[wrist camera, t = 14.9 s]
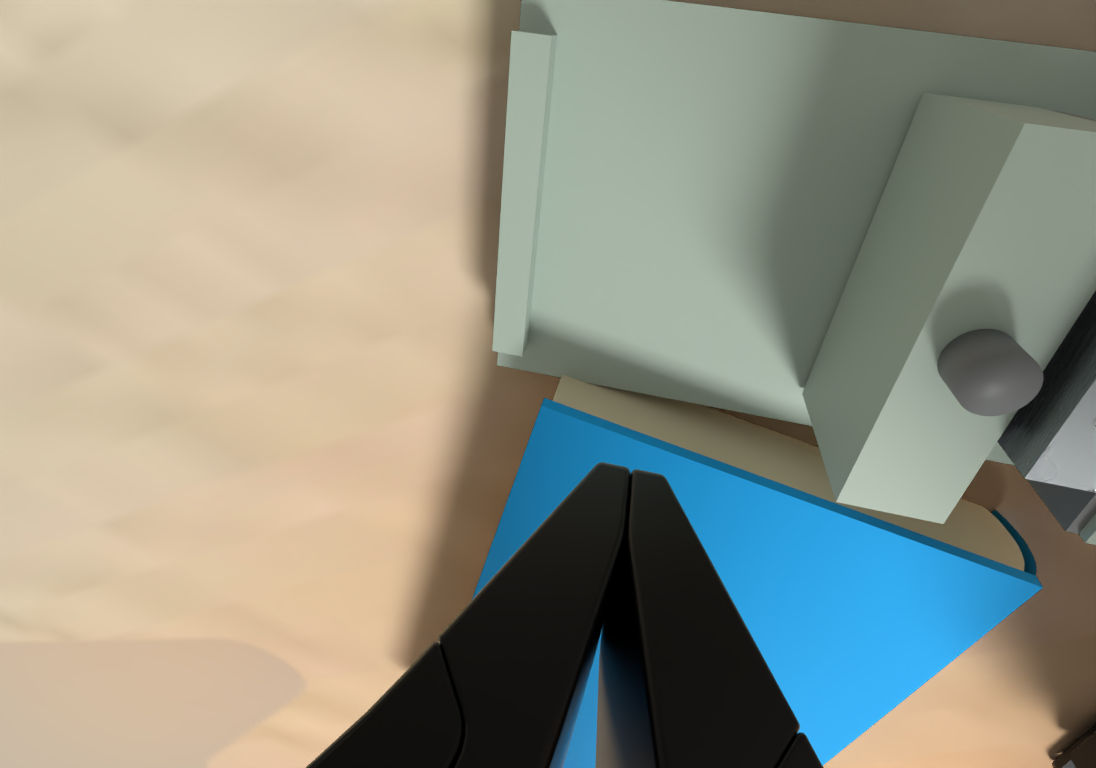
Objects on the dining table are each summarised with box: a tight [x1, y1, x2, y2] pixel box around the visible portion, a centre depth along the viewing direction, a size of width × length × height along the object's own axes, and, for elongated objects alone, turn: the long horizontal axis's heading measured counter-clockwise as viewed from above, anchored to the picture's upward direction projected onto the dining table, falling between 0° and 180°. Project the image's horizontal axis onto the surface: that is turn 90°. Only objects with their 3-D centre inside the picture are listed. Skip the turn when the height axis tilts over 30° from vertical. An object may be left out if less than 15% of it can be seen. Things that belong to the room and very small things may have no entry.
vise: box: [492, 0, 1096, 545], centre depth 15 cm, size 20×11×6 cm, turn 84°
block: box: [997, 291, 1096, 493], centre depth 13 cm, size 3×4×6 cm
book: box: [472, 374, 1043, 768], centre depth 27 cm, size 17×4×25 cm
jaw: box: [802, 93, 1096, 524], centre depth 14 cm, size 3×9×6 cm, turn 174°
